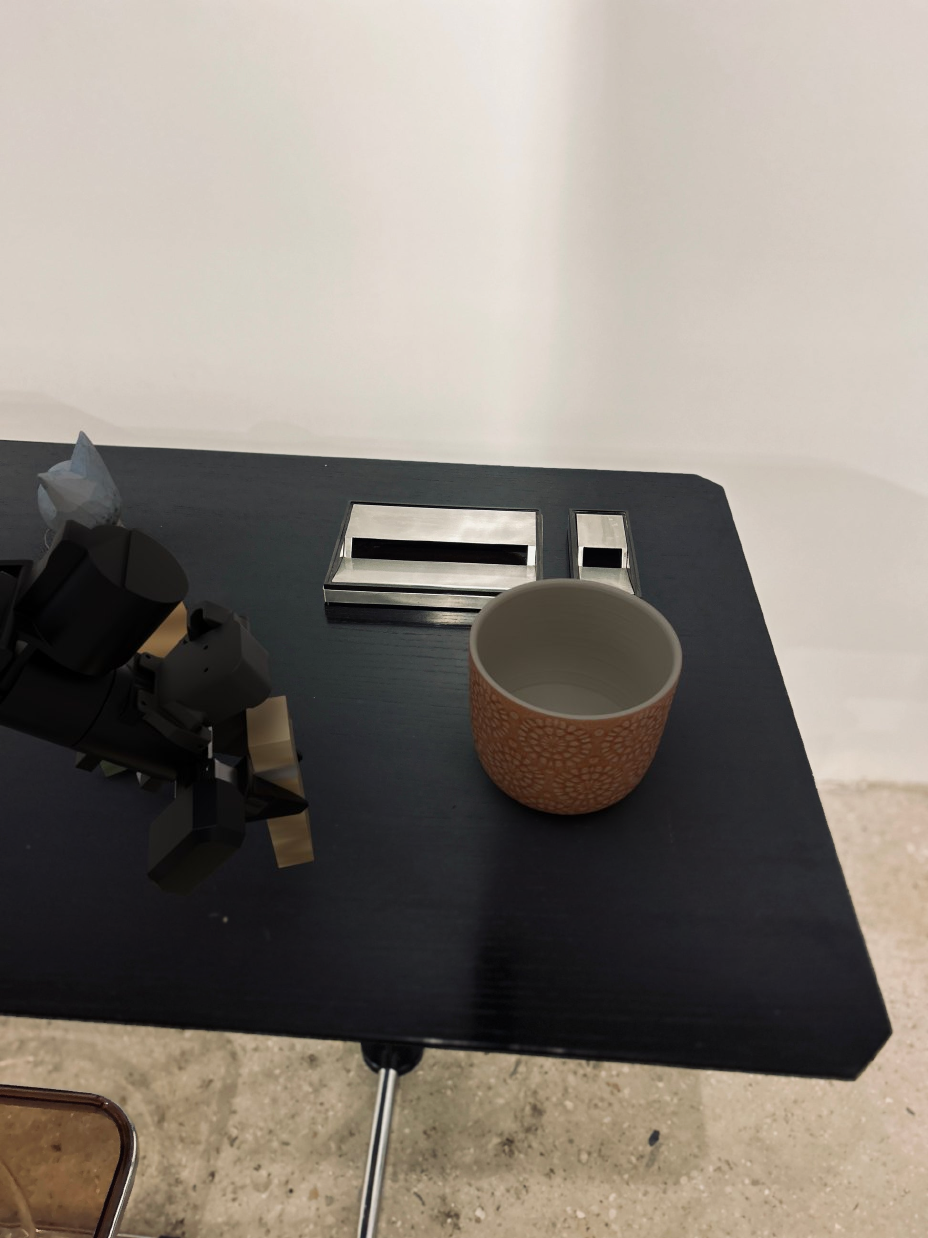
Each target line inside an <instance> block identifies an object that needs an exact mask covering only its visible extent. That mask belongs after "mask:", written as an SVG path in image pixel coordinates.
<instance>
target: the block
mask: <svg viewBox="0 0 928 1238" xmlns="http://www.w3.org/2000/svg"><path fill="white" fill-rule="evenodd" d="M246 718H247V736H248V748H249V752H250V756H251V759H250V761H251V767H252V770H253V773H254V775H256V776H258V777H260V778H262V779H265V780H267V781H269V782H271V783H274V784H276V785H278V786H280V787H283V788H285V789H287V790H289V791H292V792H294V793H295V794H297V795H299V796H301V797H302V798H304V799H306V795H305V789H304V784H303V780H302V775H301V774H302V773H301V769H300V762H299V763H298V758H297V753H296V748H297V747H296V739H295V730H294V725H293V720H292V718H291V717H290V711H289V707H288V702H287V696H286V695H280V696H274V697H268V698H267V699H266V700H265V701H264V702H263V703H262V704H260V705H259V706H257V707H255V708H248V709H246ZM266 823H267V827H268V831H269V834H270V839H271V842H272V846H273V851H274V854H275V855H274V856H275V858H276V863H277V866H278V868H279V869H281V868H285V867H290V866H295V865H300V864H305V863H309V862H314V861H315V856H314V855H315V853H314V846H313V839H312V830H311V821H310V814H309V810H308V808H307V809H305V810H304V811H303V812H302V813H301V814H297V815H291V816H285V817H279V818H273V819H266Z"/></svg>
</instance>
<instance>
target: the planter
mask: <svg viewBox="0 0 928 1238" xmlns="http://www.w3.org/2000/svg"><path fill="white" fill-rule="evenodd" d="M467 658H468V688H469V689H468V690H469V691H468V693H469V694H468V697H469V699H468V700H469V716H470V727H471V728H470V729H471V733H472V739H473V744H474V749H475V752H476V755H477V758H478V760H479V762H480V764H481V765H482V767H483V769H484V772H485V773H486V775H488V777H489V778H490V779H491V781H492V782H493V783H494V784H495V785H496V786H497V787H498V788H499V789H500V790H501V791H502V792H503V793H505V794H506V795H507V796H509V797H510V798H511V799H512V800H514V801H517V802H518V803H520V804H522V805H524V806H526V807H529V808H531V809H533V810H537V811H540V812H542V813H543V812H544V813H547V814H553V815H565V816H574V815H585V814H590V813H594V812H597V811H600V810H603V809H605V808H608V807H611V806H613V805H614V804H616V803H618V802H620V801H621V800H622V799H624V798H626V796H628V795H629V794H631V792H632V791H633V790H634V789H635V788H636V787H637V786H638V785H639V784H640V783H641V781H642V779H643V778H644V777H645V775H646V774H647V772H648V770H649V768H650V767H651V764H652V762H653V760H654V758H655V756H656V754H657V750H658V748H659V745H660V742H661V741H662V737H663V733H664V730H665V727H666V723H667V720H668V717H669V713H670V710H671V707H672V704H673V700H674V697H675V694H676V691H677V687H678V683H679V680H680V676H681V672H682V667H683V649H682V646H681V642H680V640H679V637H678V635H677V633H676V631H675V629H674V628H673V626H672V625H671V623H670V622H669V621H668V620H667V618H666V617H665V616H664V615H663V614H662V613H661V612H660V611H658V609H656V607H654V606H652V605H651V604H649V602H647V601H645V600H644V599H642V598H640V597H639V596H637V595H635V594H633V593H632V592H629V591H626V590H624V589H622V588H619V587H616V586H613V585H610V584H607V583H603V582H598V581H595V580H588V579H581V578H567V577H565V578H561V577H560V578H548V579H547V578H546V579H539V580H533V581H529V582H526V583H521V584H519V585H516V586H514V587H511V588H508V589H507V590H504V591H503V592H501V593H499V594H498V595H496V596H495V597H493V598H491V599H490V600H489V601H488V602H487V603H486V604H484V606H482V608H481V609H480V610H479V612H478V613H477V615H476V616H475V618H474V620H473V621H472V624H471V627H470V630H469V635H468V657H467Z"/></svg>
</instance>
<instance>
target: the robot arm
mask: <svg viewBox="0 0 928 1238" xmlns="http://www.w3.org/2000/svg"><path fill="white" fill-rule="evenodd" d="M49 547H50V548H49V549H47V551H46V553H44V555H43V556H42V558H41V559H39V561H38V563H37V561H35V560H33V559H29V558H27V559H26V558H25V559H24V558H23V559H21V558H20V559H0V726H2V727H4V728H7V729H10V730H14V731H16V732H19V733H22V734H25V735H29V736H30V737H34V738H37V739H38V740H39V739H40V740H43V741H46V742H49V743H52V744H55V745H58V746H60V747H63V748H66V749H69V750H72V751H75V752H76V757H75V763H74V768H75V769H79V770H82V771H86V772H89V773H92V772H94V770H95V769H96V768H97V767H98V766H99V765H100V763H101V761H102V760H104V761H107V762H109V763H112V764H115V765H118V766H121V767H124V768H127V769H126V770H129V771H133V772H135V773H137V772H139V773H141V779H140V783H139V789H140V790H143V791H146V792H148V793H152V794H156V793H157V792H158V791H159V790H160V789H161V788H162V787H163V786H164V785H165V783H167V782H169V783H174V800H173V801H172V802H171V803H170V804H169V805H168V806H167V807H166V808H165V809H164V810H163V811H162V812H161V813H160V814H159V815H158V816H157V817H156V818H155V819H154V820H153V821H151V823H150V824H149V830H148V831H149V832H148V833H149V834H148V848H147V849H148V850H147V863H146V864H147V865H146V875H147V878H148V880H149V882H150V884H151V887H152V888H154V889H156V890H158V891H160V892H163V893H168V894H171V895H176V896H179V897H182V898H183V897H184V898H188V897H189V896H190V895H192V893H193V892H195V891H196V890H197V889H198V888H199V887H200V886H201V885H202V884H203V883H204V882H206V880H208V878H210V877H211V876H212V875H213V874H214V873H215V872H216V871H218V869H220V867H222V866H223V865H224V864H225V863H226V862H227V861H228V860H229V859H231V858H232V856H233V855H235V853H237V852H238V851H239V850H240V849H241V847H242V844H243V843H244V840H245V837H246V835H247V833H246V832H247V831H246V824H247V823H254V822H259V821H267V819H273V818H279V817H285V816H291V815H297V814H301V813H302V812H303V811H304V810H305V809H307V810H308V808H309V806H310V804H309V801H308V800H307V799H306V798H305V799H304V798H302V797H301V796H299V795H297V794H295V793H294V792H292V791H289V790H287V789H285V788H283V787H280V786H278V785H276V784H274V783H271V782H269V781H267V780H265V779H262V778H260V777H258V776H256V775H254V773H253V768H252V762H251V756H250V752H249V748H248V736H247V718H246V709H248V708H255V707H257V706H259V705H260V704H262V703H263V702H264V701H265V700H266V699H267V698H270V695H271V692H272V681H271V678H270V672H269V671H270V670H269V661H270V655H269V653H268V651H267V650H266V649H265V648H264V647H263V646H262V645H261V644H260V642H259V641H258V640H256V639H255V637H254V636H253V635H252V634H251V623H250V622H251V621H250V618H249V617H248V616H246V615H238V614H237V613H236V612H235V611H232V610H231V609H229V608H227V607H224V606H222V605H220V604H218V603H214V602H212V601H210V600H206V599H203V600H201V601H200V602H198V603H196V604H194V605H193V606H190V607H189V608H187V609H186V611H187V622H186V628H187V633H186V634H185V636H184V637H183V638H182V639H181V640H179V642H178V643H177V644H176V646H175V647H174V648H173V649H172V650H171V651H170V652H169V653H168V654H167V655H166V657H165V658H161V657H157V656H155V655H152V654H150V653H148V652H143V653H142V654H141V653H139V652H137V651H138V650H139V649H140V648H141V647H142V646H143V645H144V643H145V642H146V641H147V640H148V639H149V638H150V637H151V635H152V634H153V633H154V632H155V631H156V630H157V629H158V628H159V626H160V625H161V624H162V623H163V622H164V621H165V620H166V619H167V617H168V616H169V615H170V614H171V613H172V612H173V611H174V609H175V608H176V607H177V606H178V605H179V604H180V603H181V602H183V601H184V599H186V597H187V596H188V594H189V591H190V581H189V577H188V574H187V572H186V571H185V568H184V567H183V565H182V564H181V563H180V561H179V559H177V557H176V556H175V555H174V554H173V553H172V552H171V550H169V548H167V547H165V546H164V545H163V544H162V543H161V542H160V541H159V540H157V539H156V538H154V537H153V536H151V535H149V534H148V533H146V532H144V531H142V530H141V529H138V528H136V527H132V528H131V529H130V528H128V527H125V526H124V527H122V526H116V525H110V524H108V525H99V526H96V527H94V528H92V529H90V528H88V527H86V526H84V525H82V524H80V523H79V522H77V521H75V520H73V519H71V520H66V521H65V522H64V524H63V525H62V526H61V528H60V529H59V530H58V532H57V533H55V534H54V536H53V539H52V542H51V545H50V546H49ZM213 753H217V754H222V755H227V756H231V757H236V758H241V759H240V760H239V761H238V762H237V763H236V764H235V765H233V766H231V765H229V764H226V763H223V762H221V761H220V760H219V759H218V758H215V757H213ZM296 753H297V758H298V763H299V764H300V763H301V761H303V757H304V756H303V753H302V752H301V751H300V750H299V749H298V748H297V747H296Z"/></svg>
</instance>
